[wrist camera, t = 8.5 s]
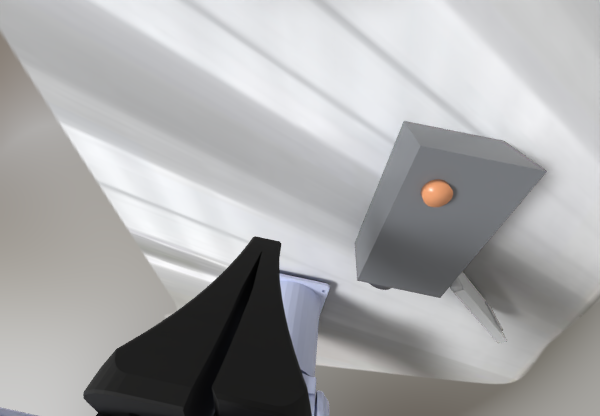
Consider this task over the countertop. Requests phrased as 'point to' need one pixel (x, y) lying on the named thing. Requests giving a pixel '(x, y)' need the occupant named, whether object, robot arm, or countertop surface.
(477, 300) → the side door
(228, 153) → the countertop surface
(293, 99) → the countertop surface
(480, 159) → the grey box
